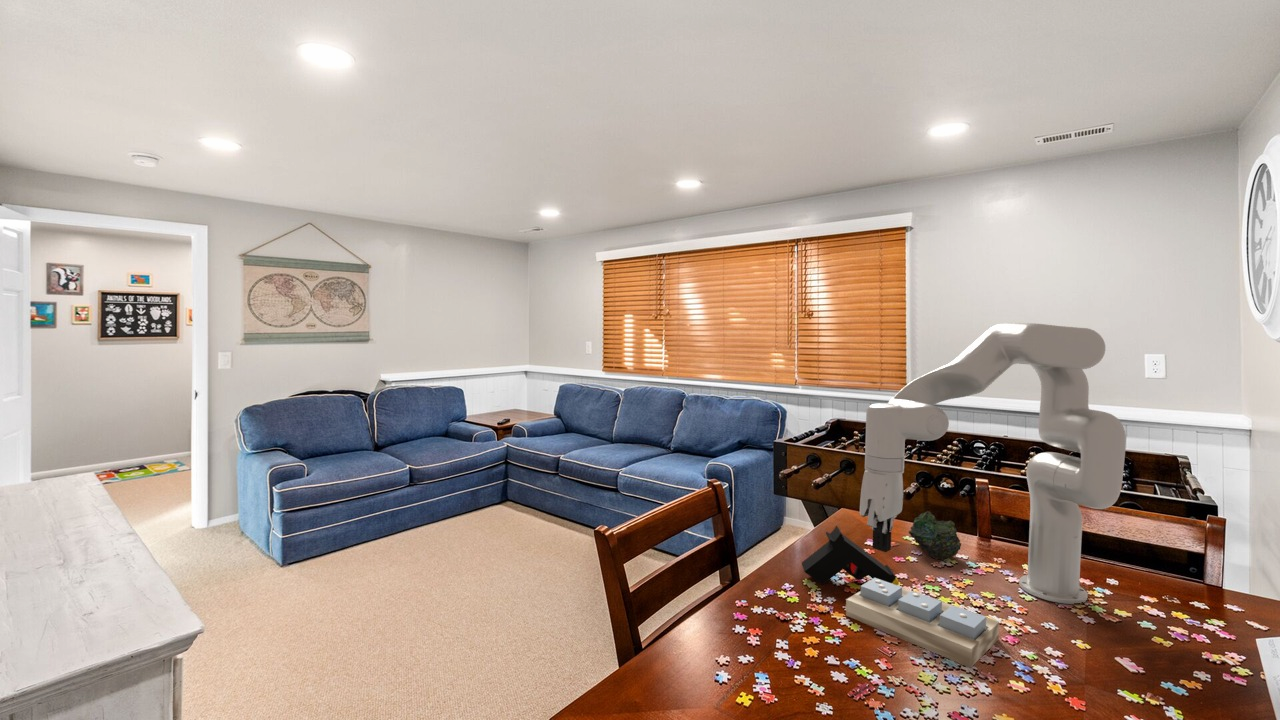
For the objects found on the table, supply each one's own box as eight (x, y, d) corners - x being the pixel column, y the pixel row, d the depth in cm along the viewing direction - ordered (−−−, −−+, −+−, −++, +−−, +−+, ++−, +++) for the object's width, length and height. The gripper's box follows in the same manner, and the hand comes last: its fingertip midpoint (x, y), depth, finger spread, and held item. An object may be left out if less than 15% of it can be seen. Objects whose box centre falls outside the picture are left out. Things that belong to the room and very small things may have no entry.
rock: (894, 543, 159) (895, 508, 158) (929, 540, 161) (930, 505, 160) (927, 564, 145) (929, 525, 144) (966, 561, 147) (967, 523, 146)
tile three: (874, 588, 125) (874, 576, 125) (901, 598, 121) (902, 586, 121) (860, 597, 122) (860, 585, 121) (888, 608, 117) (888, 595, 117)
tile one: (952, 617, 113) (952, 603, 113) (985, 629, 109) (986, 615, 109) (939, 627, 109) (939, 614, 109) (973, 641, 105) (974, 626, 105)
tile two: (911, 602, 119) (911, 589, 119) (941, 613, 115) (942, 600, 115) (897, 611, 116) (898, 598, 115) (928, 623, 111) (929, 610, 111)
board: (878, 594, 129) (879, 579, 129) (998, 639, 111) (999, 621, 111) (845, 615, 120) (846, 599, 120) (970, 667, 102) (971, 648, 102)
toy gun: (867, 619, 133) (902, 579, 131) (803, 571, 135) (837, 531, 133) (862, 608, 138) (895, 570, 136) (800, 562, 140) (833, 523, 138)
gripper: (884, 454, 127) (881, 535, 128) (848, 465, 117) (846, 553, 119) (918, 461, 121) (915, 545, 122) (884, 473, 112) (881, 564, 113)
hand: (881, 549), depth 120 cm, fingers closed
